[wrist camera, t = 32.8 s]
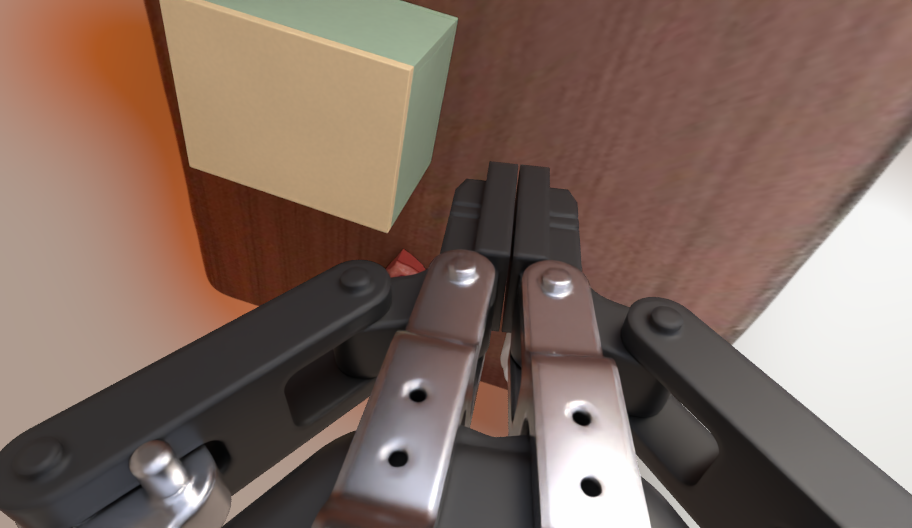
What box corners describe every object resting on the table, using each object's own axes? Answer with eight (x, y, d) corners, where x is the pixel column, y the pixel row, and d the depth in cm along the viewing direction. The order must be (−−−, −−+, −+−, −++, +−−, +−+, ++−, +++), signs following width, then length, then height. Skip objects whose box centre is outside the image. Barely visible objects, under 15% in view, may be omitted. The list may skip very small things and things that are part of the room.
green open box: (271, 111, 51) (204, 165, 43) (263, -42, 42) (176, -10, 34) (430, 163, 50) (391, 227, 42) (458, 17, 41) (414, 65, 33)
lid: (195, 162, 43) (189, 166, 43) (165, -13, 34) (156, -10, 34) (391, 228, 42) (387, 233, 42) (414, 65, 33) (410, 70, 32)
